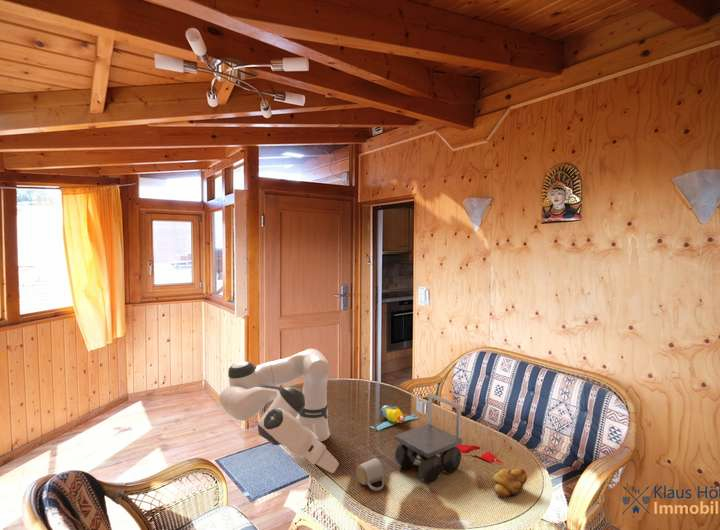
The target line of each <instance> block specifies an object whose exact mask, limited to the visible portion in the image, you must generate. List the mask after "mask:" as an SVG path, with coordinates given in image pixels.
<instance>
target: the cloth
mask: <svg viewBox="0 0 720 530" xmlns="http://www.w3.org/2000/svg"><path fill="white" fill-rule="evenodd" d="M455 447H457V448H459V450H460V452H462V453H465V454H466V453H469V452H470V451H473V450H477V449H480V447H481V446H479V445H473V444H472V445H469V444H463V443H462V444H460V445H458V446H455ZM490 452H491V451H489V452H486V453H485V454H483V455H482V456H481V457H478V456H477V455H474V456H473V457H477V458H480V459H482V460H484V461H487V462H489V463H490V464H491V463H492V462H495V461H494V459H495V458H498V457H497V455H495V456H493V455H492V454H491V453H490ZM462 453H461V454H462ZM465 454H464V455H465ZM496 461H497V462H500V463H502V464H501V465H504V462H502V461H501V460H500V459H499V458H498V459H496ZM497 462H496V463H497ZM500 463H499V464H500ZM492 464H493V463H492Z"/></svg>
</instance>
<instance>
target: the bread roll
mask: <svg viewBox="0 0 720 530" xmlns="http://www.w3.org/2000/svg"><path fill="white" fill-rule="evenodd" d="M527 480H528V475H527V472H526V471H525V469H524V468H519V467H518V468H514V469H510V468H501V469H499V471H498V472H497V473H496V472H495V474H494V475H493V476H492V485H493V490H494V493H495V494H496V495H497V496H498V497H500V498H507V497H509V496H511V495H512V496H513V495H514V496H515V495H518V494H520V493H521V492H522V491H523V487H524V485H525V484H526V482H527Z"/></svg>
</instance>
